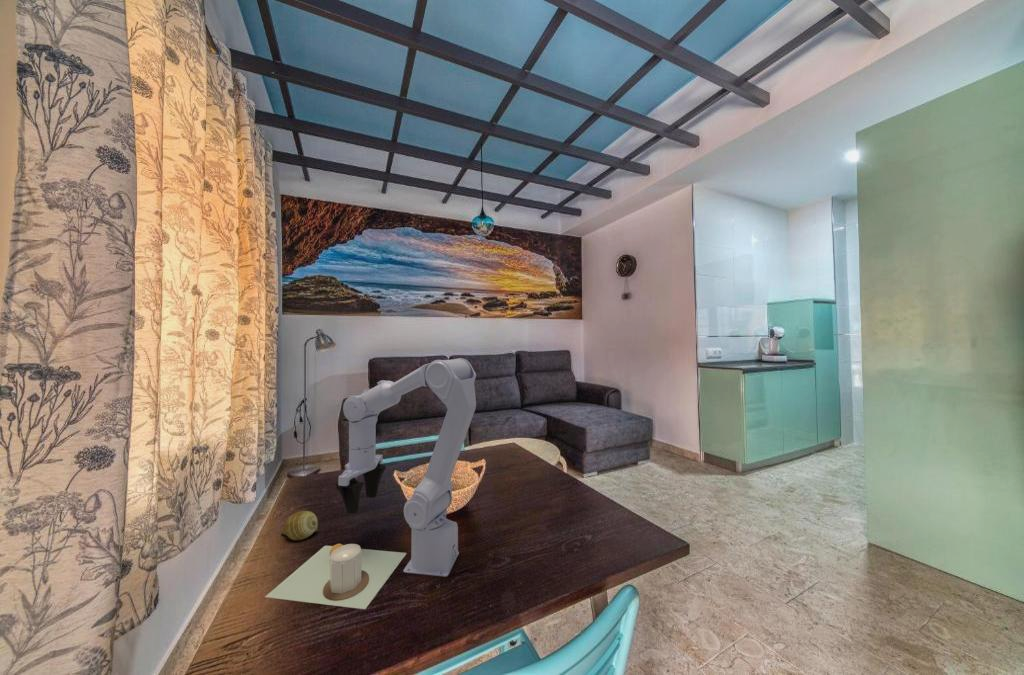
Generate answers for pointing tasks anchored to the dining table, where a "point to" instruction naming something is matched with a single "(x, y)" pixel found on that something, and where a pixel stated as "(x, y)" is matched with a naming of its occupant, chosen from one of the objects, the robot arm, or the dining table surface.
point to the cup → (345, 568)
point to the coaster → (348, 594)
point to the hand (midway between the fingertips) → (362, 504)
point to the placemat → (316, 574)
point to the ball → (335, 548)
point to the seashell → (300, 525)
